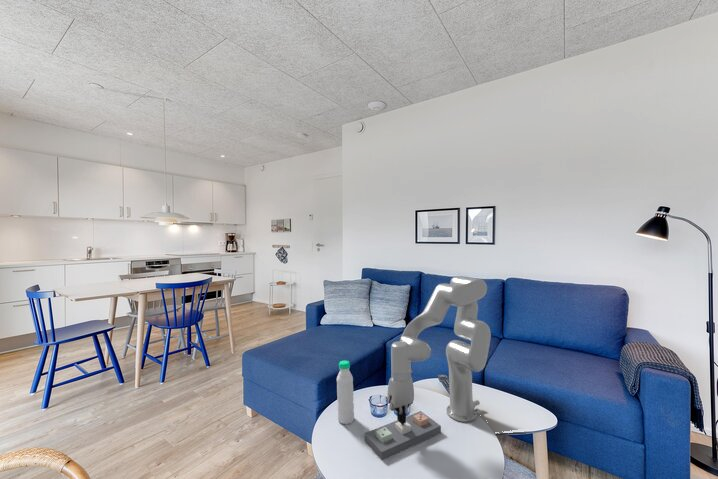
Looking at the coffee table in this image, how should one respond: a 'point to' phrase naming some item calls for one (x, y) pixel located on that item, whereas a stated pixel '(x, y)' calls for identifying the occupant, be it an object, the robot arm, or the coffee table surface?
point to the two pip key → (383, 435)
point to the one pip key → (403, 428)
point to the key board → (401, 437)
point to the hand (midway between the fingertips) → (401, 421)
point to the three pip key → (420, 419)
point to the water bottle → (345, 394)
